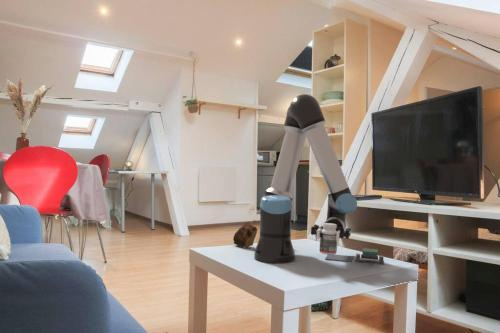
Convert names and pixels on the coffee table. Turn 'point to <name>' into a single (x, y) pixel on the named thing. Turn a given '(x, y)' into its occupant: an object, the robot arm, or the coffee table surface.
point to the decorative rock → (245, 235)
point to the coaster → (339, 258)
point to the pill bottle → (328, 239)
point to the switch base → (369, 260)
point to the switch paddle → (369, 253)
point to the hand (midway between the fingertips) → (327, 235)
